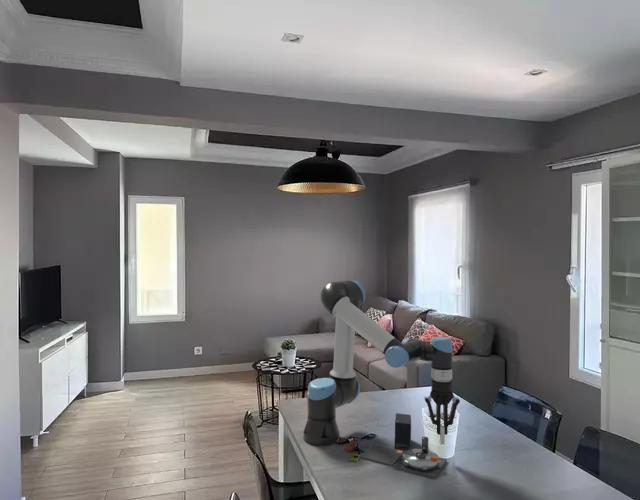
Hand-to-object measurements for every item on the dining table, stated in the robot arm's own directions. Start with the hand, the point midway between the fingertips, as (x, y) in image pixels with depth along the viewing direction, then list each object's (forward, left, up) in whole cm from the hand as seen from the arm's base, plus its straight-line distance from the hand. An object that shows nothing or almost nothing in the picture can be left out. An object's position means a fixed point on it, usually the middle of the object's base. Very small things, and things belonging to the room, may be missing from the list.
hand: (441, 442), depth 171 cm
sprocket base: (-6, -7, -7) cm, 11 cm away
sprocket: (-6, -7, -5) cm, 11 cm away
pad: (-21, -7, -7) cm, 23 cm away
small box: (-18, +7, -7) cm, 20 cm away
